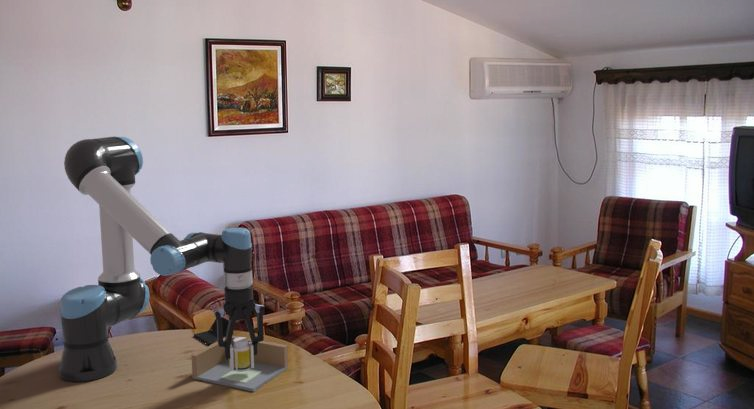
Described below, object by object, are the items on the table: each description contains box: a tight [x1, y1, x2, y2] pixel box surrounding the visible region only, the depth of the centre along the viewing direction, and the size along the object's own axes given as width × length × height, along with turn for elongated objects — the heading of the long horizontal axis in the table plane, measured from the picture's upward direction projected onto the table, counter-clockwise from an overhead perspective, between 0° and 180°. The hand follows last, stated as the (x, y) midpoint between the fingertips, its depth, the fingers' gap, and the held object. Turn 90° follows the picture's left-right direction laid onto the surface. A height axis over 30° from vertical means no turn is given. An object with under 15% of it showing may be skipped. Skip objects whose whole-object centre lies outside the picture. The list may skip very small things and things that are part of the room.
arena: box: [191, 335, 289, 393], centre depth 194 cm, size 20×17×7 cm
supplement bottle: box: [233, 336, 251, 372], centre depth 191 cm, size 5×5×8 cm
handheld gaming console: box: [193, 316, 229, 346], centre depth 222 cm, size 12×7×10 cm
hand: (241, 367), depth 191 cm, fingers closed on supplement bottle, 5 cm apart
